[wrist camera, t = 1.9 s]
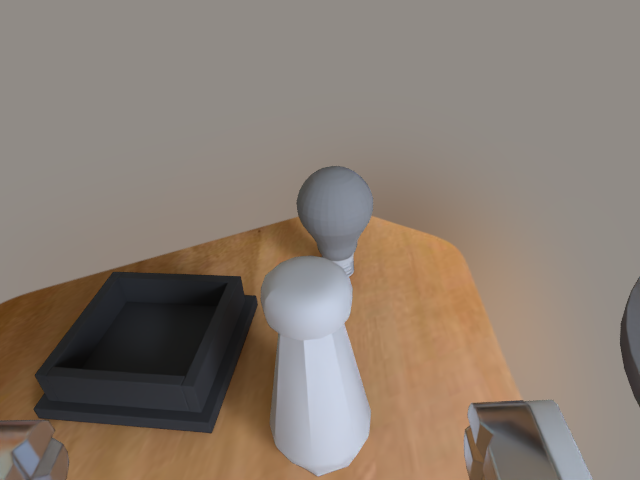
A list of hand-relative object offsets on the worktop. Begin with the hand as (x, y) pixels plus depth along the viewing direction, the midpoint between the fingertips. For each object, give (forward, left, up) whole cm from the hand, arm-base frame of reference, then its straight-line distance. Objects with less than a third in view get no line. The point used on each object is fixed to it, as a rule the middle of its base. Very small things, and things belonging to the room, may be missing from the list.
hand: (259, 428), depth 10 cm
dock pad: (+15, -18, -19) cm, 30 cm away
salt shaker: (+2, -12, -19) cm, 22 cm away
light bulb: (+2, -28, -19) cm, 34 cm away
